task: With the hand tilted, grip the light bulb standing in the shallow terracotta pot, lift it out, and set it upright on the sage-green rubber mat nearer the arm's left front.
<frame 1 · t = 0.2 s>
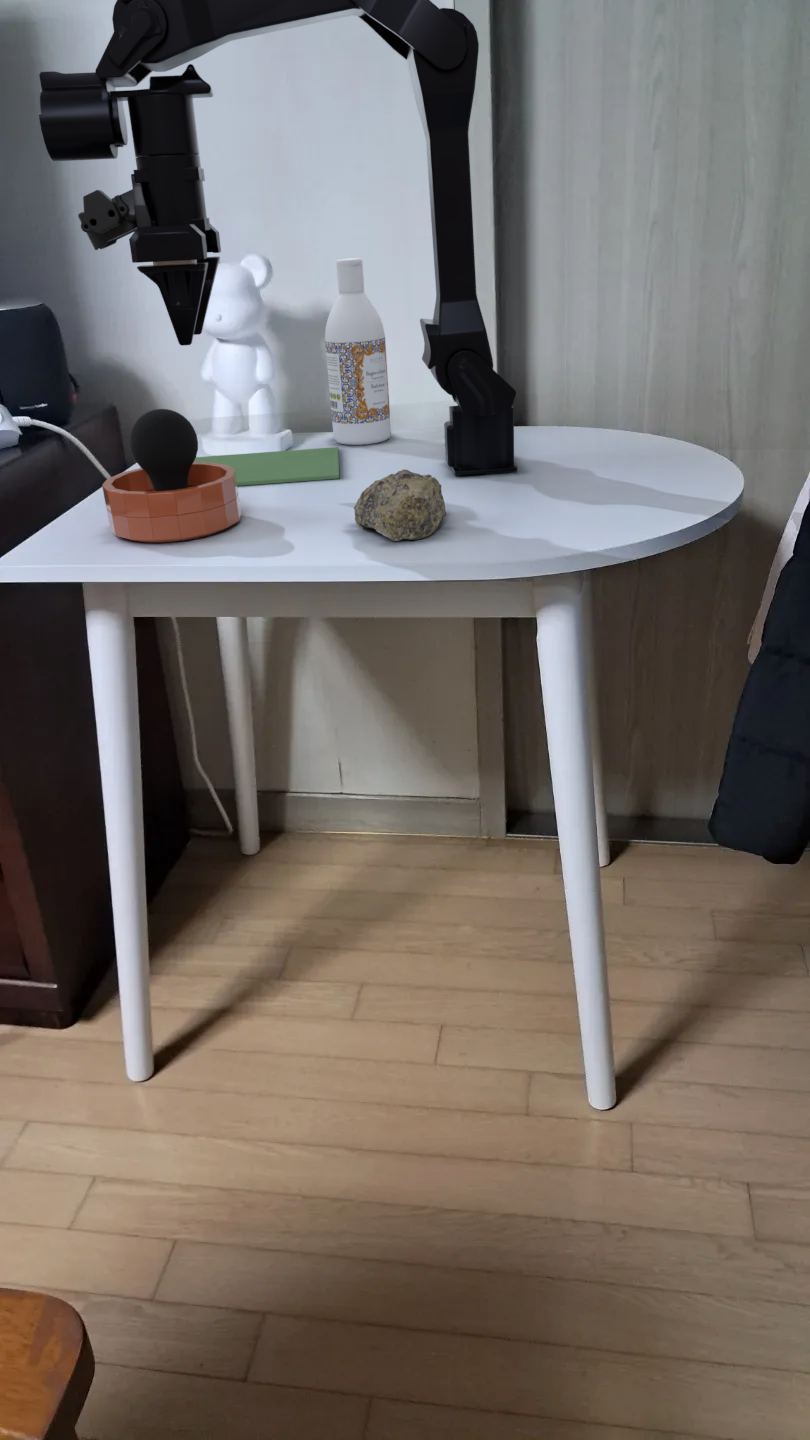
hand: (190, 339, 100), 15 cm above the table, tool pointing down, fingers open, 9 cm apart
pot: (177, 526, 94), on the table
mat: (247, 470, 113), on the table
rock: (399, 530, 90), on the table
bath foam: (362, 441, 124), on the table
light bulb: (177, 524, 94), resting on pot
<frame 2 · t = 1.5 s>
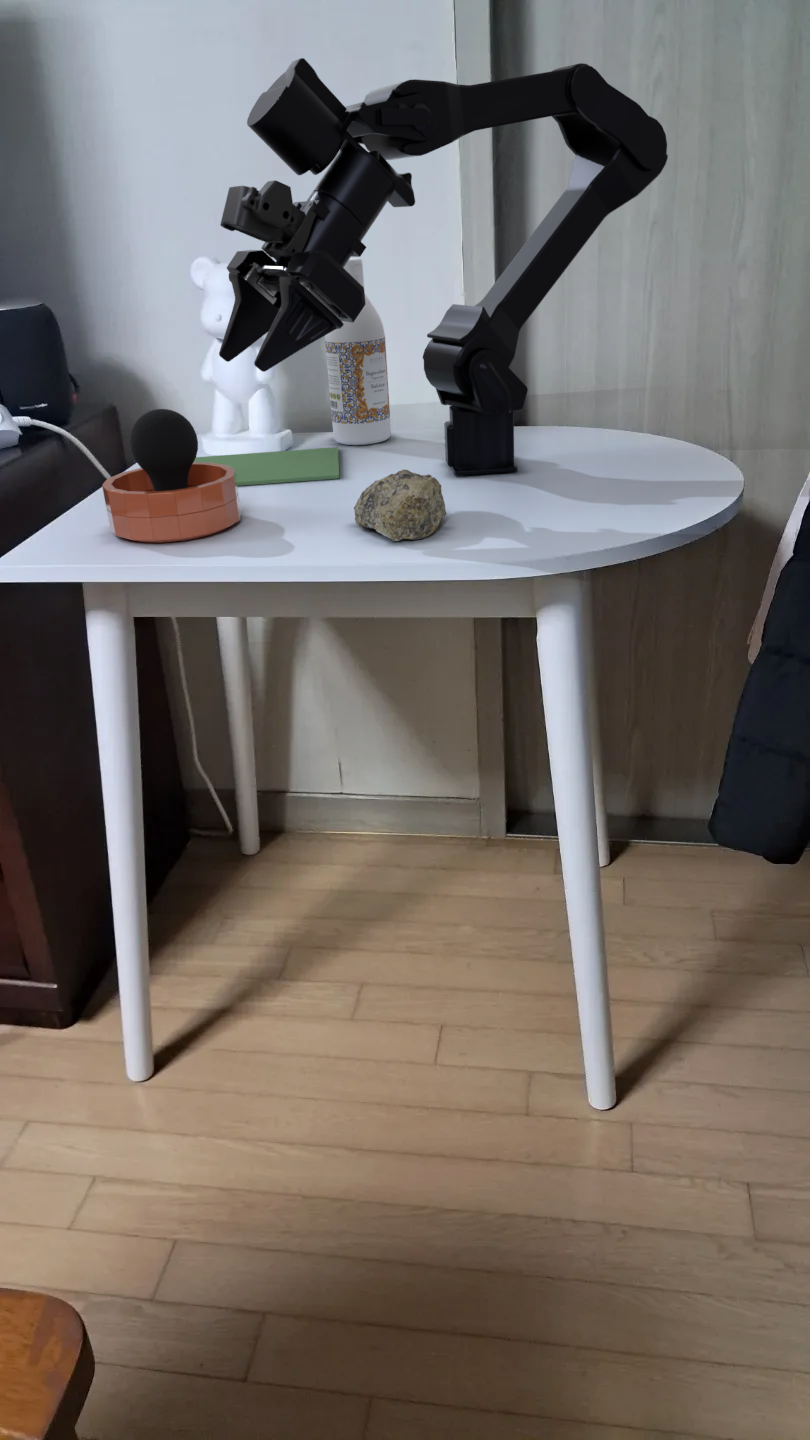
hand: (240, 363, 92), 13 cm above the table, tool tilted 45°, fingers open, 9 cm apart
nothing on the table moved.
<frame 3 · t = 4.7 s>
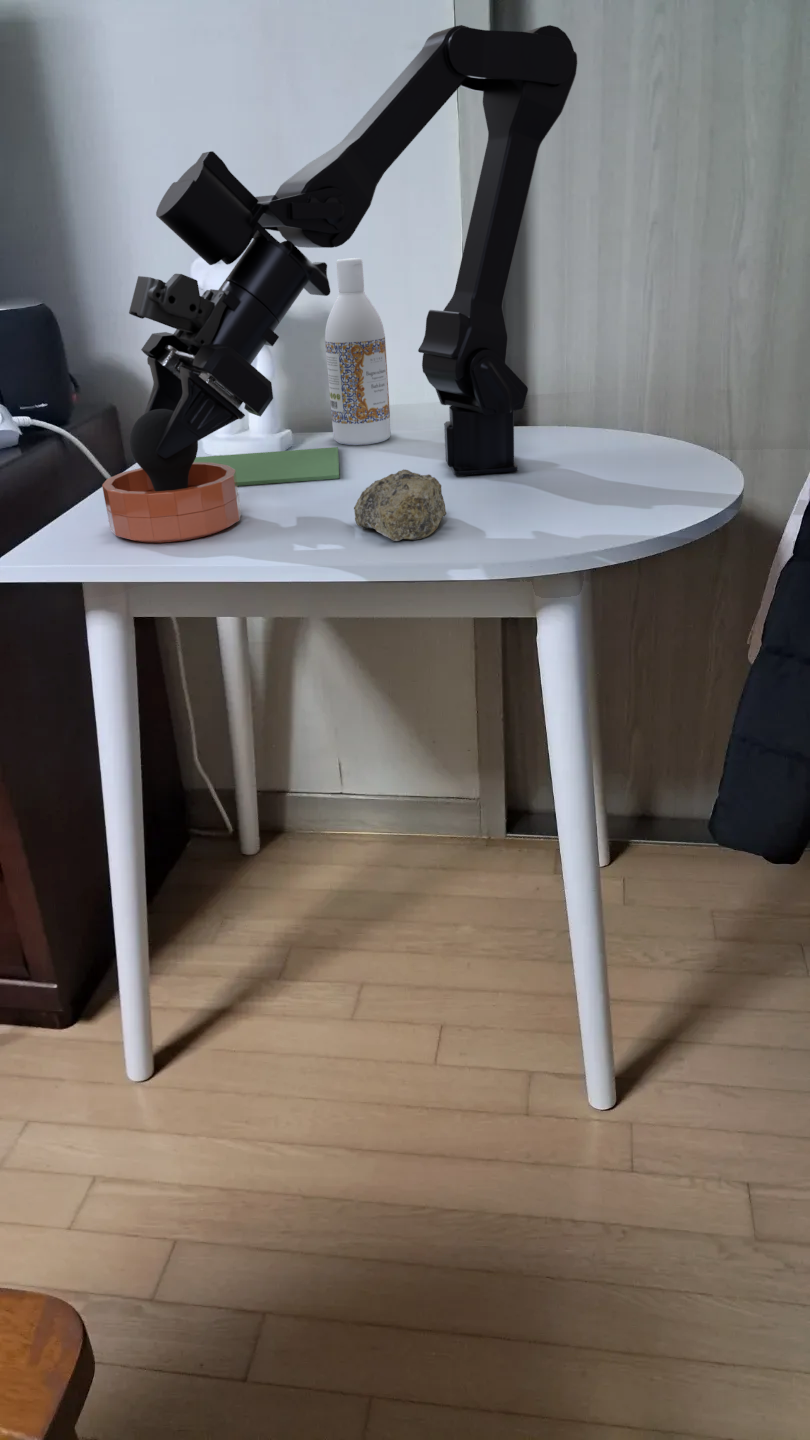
hand: (149, 450, 90), 7 cm above the table, tool tilted 45°, fingers closed on light bulb, 6 cm apart
light bulb: (177, 524, 94), resting on pot, touching gripper
everything else where it was.
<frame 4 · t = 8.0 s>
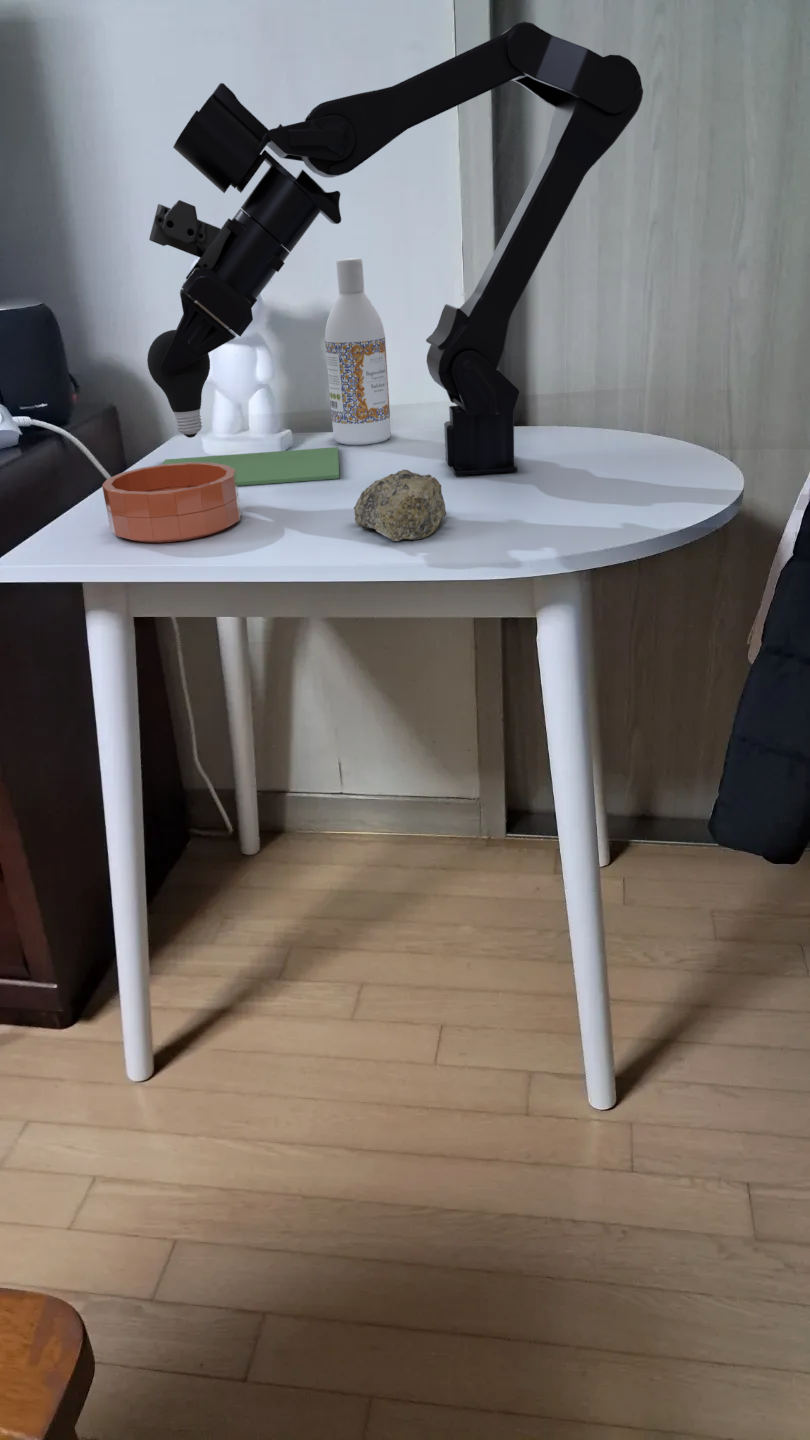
hand: (165, 368, 98), 12 cm above the table, tool tilted 45°, fingers closed on light bulb, 6 cm apart
light bulb: (191, 439, 102), point 6 cm above the table, touching gripper
everything else where it was.
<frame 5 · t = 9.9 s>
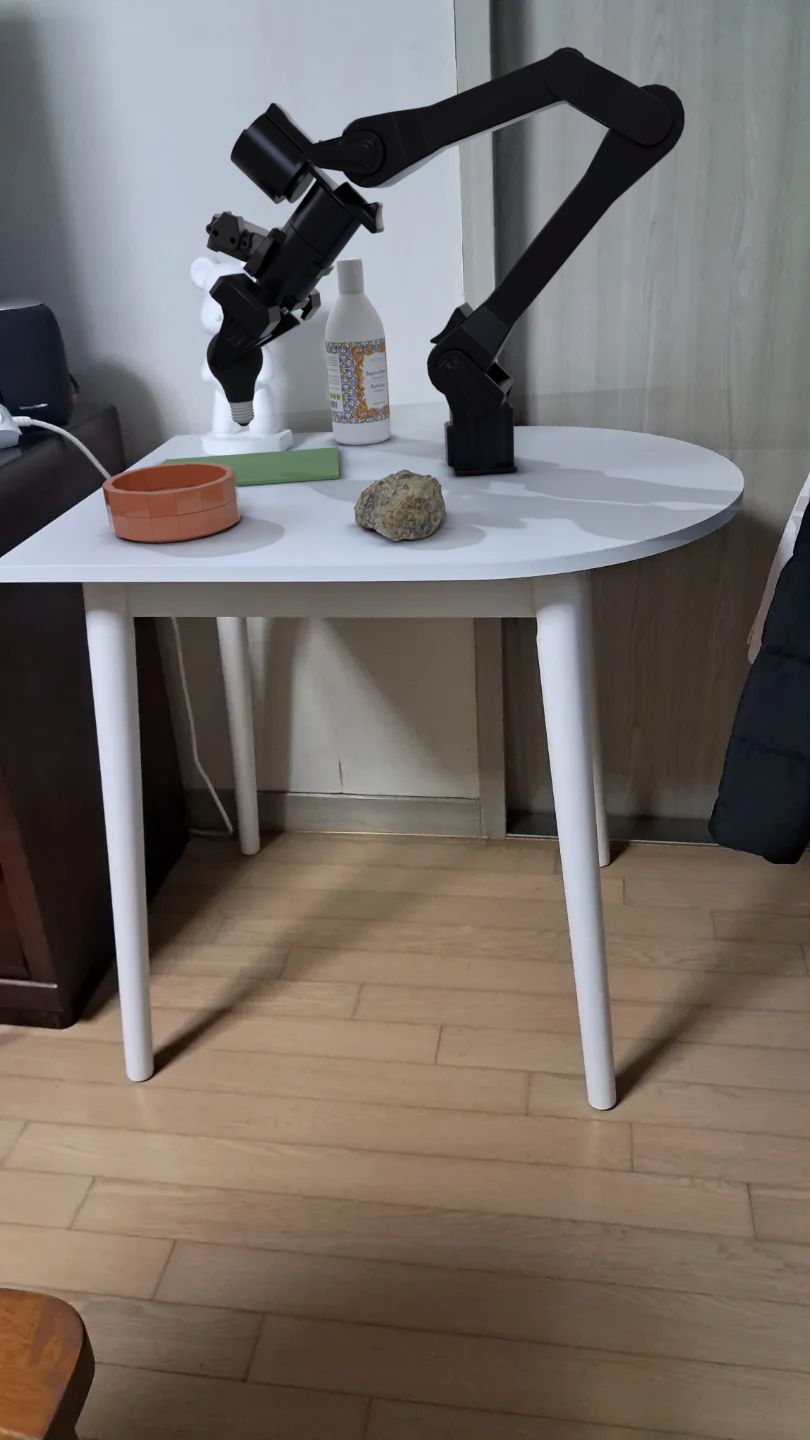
hand: (223, 362, 108), 11 cm above the table, tool tilted 45°, fingers closed on light bulb, 6 cm apart
light bulb: (244, 428, 111), point 5 cm above the table, touching gripper
everything else where it was.
when the fingers open (7 cm above the table, at t = 11.6 s): light bulb stays where it is, resting on mat.
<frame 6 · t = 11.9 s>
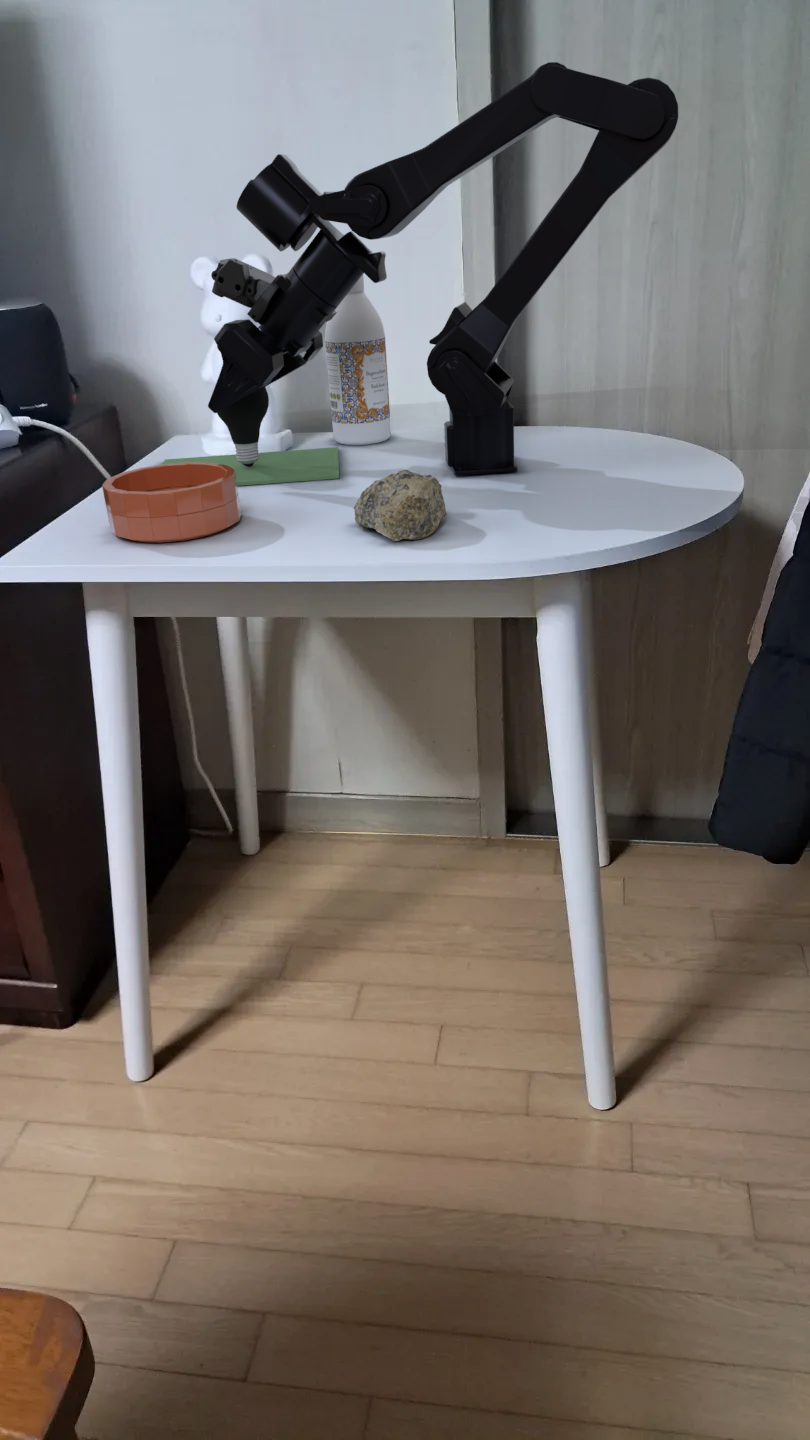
hand: (226, 402, 110), 7 cm above the table, tool tilted 45°, fingers open, 8 cm apart
light bulb: (249, 468, 113), resting on mat
everything else where it was.
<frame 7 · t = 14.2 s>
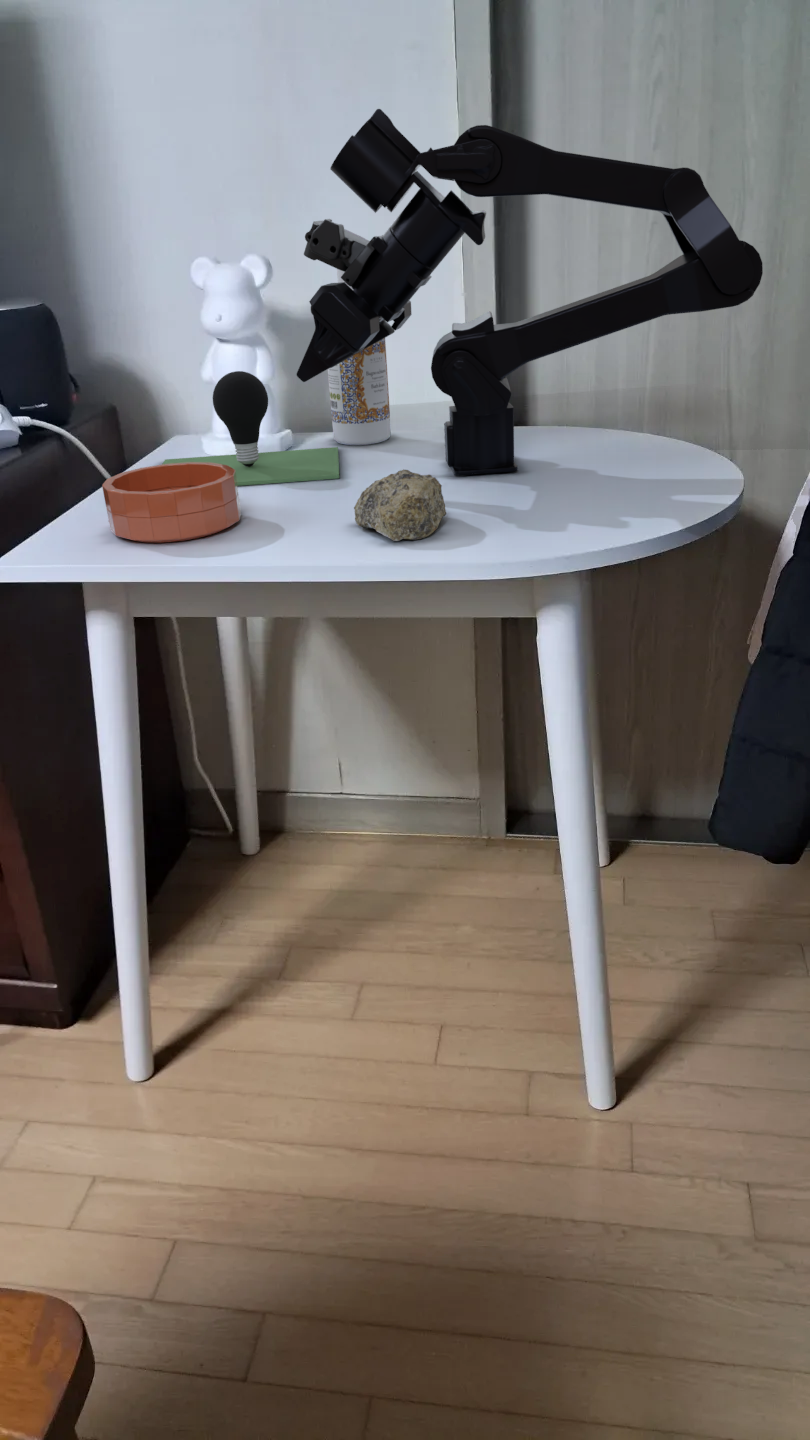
hand: (313, 371, 106), 10 cm above the table, tool tilted 45°, fingers open, 9 cm apart
nothing on the table moved.
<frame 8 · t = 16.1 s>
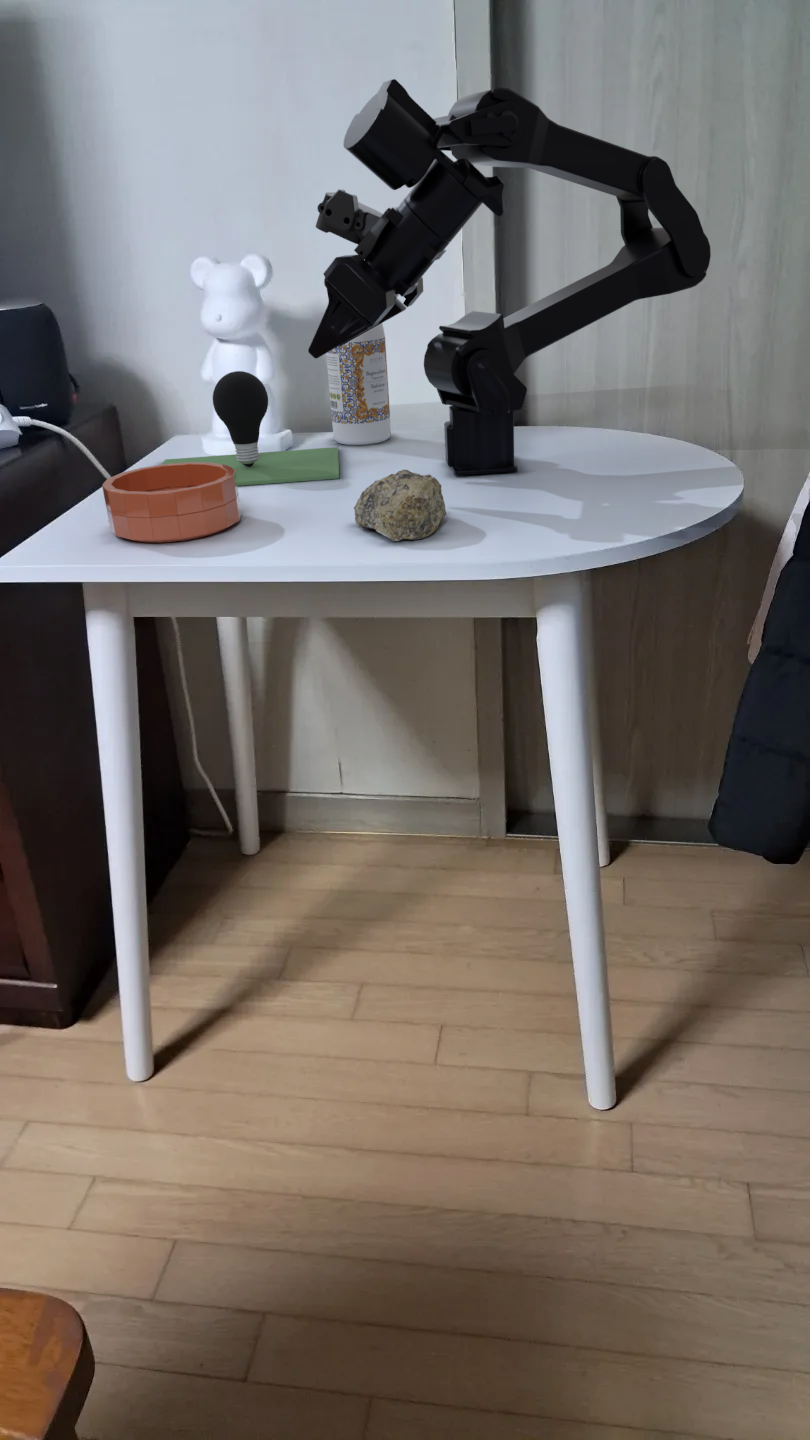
hand: (324, 348, 104), 13 cm above the table, tool tilted 45°, fingers open, 9 cm apart
nothing on the table moved.
at the end: light bulb inside the target area on the mat (0.2 cm from its centre), point 0.2 cm above the mat's base; light bulb tilted 0°; light bulb touching mat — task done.
